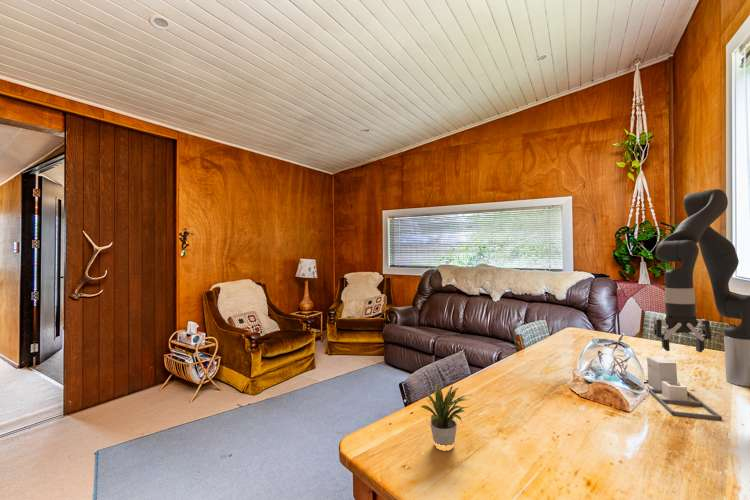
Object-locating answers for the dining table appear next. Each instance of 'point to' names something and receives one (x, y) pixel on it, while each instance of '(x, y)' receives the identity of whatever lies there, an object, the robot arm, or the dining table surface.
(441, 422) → the house plant
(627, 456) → the dining table surface
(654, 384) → the small box
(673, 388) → the white and grey cube
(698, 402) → the frame
